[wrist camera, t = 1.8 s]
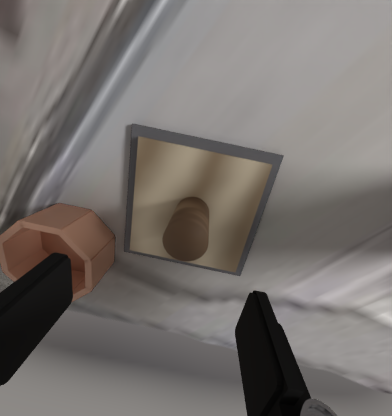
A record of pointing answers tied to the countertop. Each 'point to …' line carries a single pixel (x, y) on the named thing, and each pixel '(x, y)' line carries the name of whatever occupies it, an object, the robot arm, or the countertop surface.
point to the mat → (209, 146)
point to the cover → (194, 203)
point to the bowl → (60, 244)
